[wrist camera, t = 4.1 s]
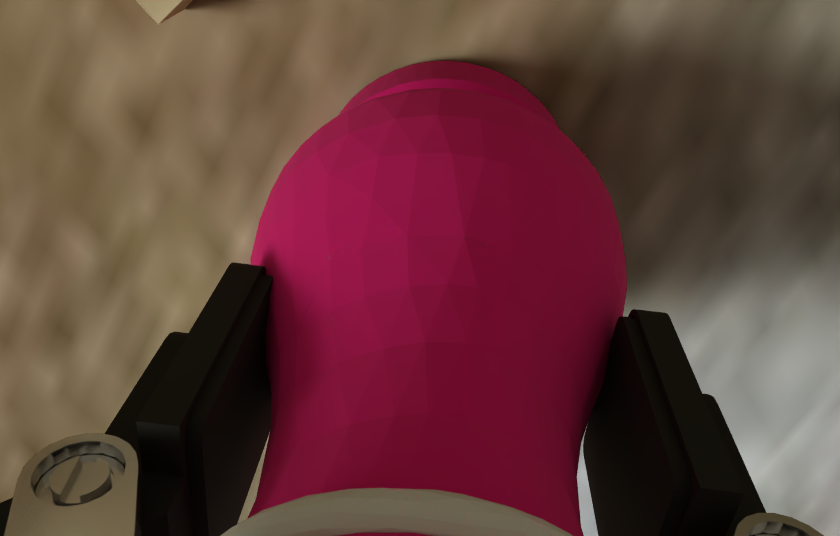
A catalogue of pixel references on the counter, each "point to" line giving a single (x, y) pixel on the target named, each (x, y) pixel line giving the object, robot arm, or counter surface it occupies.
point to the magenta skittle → (434, 315)
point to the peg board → (163, 8)
